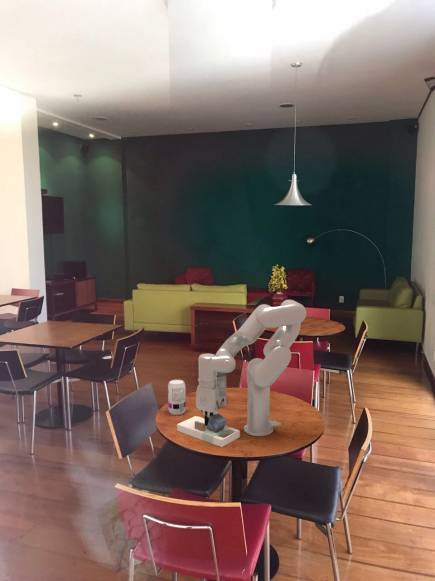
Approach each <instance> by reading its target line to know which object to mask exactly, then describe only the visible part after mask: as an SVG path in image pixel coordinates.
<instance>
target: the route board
mask: <svg viewBox="0 0 435 581" xmlns="http://www.w3.org/2000/svg"><path fill="white" fill-rule="evenodd" d="M176 431H177V432H180V433H181V434H184V435H187V436H190V437H193V438H196V439H198V440H201V441H204V442H206V443H209V444H212V445H214V446H217V447H220V448H223V447H225V446H227V445H229V444H230V443H232V442H234V441H236V440H237V439H239V438H240V437H241V430H240V429H237V428H234V427H231V426H228V425H225V426H224V429H223V430H221V431H219V432H217V433H215V432H214V431H213V430H211V429H210V428H209V427H208V426H205V421H204V418H203V417H201V416H197V415H194V416H193V417H190V418H188V419H186V420H184V421H181V422H179V423H177V424H176Z"/></svg>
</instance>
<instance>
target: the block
mask: <svg viewBox="0 0 435 581" xmlns="http://www.w3.org/2000/svg"><path fill="white" fill-rule="evenodd" d="M226 423H227V419H226V417H224V416H223V415H221V414H220V413H219V414H217V415H212V416H210V418H209V422H208V425H207V426H208V427H209V428H210V429H211V430H213V431H214V432H215V433H217V432H219V431H221V430H223V429H224V426H226Z"/></svg>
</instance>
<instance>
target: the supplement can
mask: <svg viewBox="0 0 435 581" xmlns="http://www.w3.org/2000/svg"><path fill="white" fill-rule="evenodd" d="M186 394H187V393H186V383H185V381H184V380H182V379H172V380H169V382H168V384H167V396H168V398H167V400H168V401H167V402H168V403H167V404H168V405H167V406H168V407H167V408H168V413H169V414H170V415H172V416H173V415H175V416H179V415H183V414H185V412H186V411H187V404H186V401H187V400H186V399H187V398H186Z"/></svg>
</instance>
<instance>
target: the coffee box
mask: <svg viewBox="0 0 435 581" xmlns="http://www.w3.org/2000/svg"><path fill="white" fill-rule="evenodd" d="M217 387H218V392H219V400H220V407H226V406H227V373H221V372H217ZM220 407H219V408H220Z"/></svg>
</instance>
